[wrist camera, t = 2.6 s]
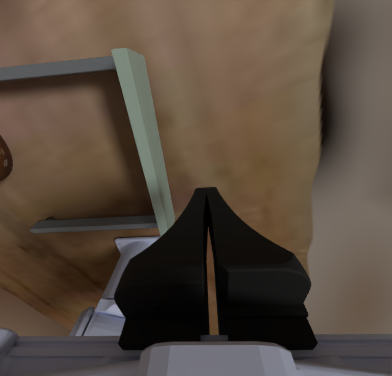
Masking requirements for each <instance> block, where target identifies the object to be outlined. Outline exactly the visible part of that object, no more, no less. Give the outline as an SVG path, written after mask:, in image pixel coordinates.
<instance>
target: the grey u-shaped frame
mask: <svg viewBox="0 0 392 376" xmlns="http://www.w3.org/2000/svg"><path fill="white" fill-rule="evenodd" d="M111 51H112V55H113V56H107V57H98V58H88V59H79V60H69V61H60V62H50V63H41V64H31V65H22V66H13V67H3V68H0V82H7V81H17V80H27V79H37V78H47V77H57V76H66V75H76V74H86V73H96V72H106V71H116V70H117V74H118V77H119V81H120V85H121V89H122V92H123V96H124V100H125V104H126V108H127V111H128V115H129V119H130V123H131V126H132V130H133V134H134V138H135V141H136V145H137V149H138V153H139V157H140V160H141V164H142V168H143V172H144V175H145V179H146V183H147V187H148V190H149V194H150V198H151V202H152V206H153V209H154V213H155V215H148V216H128V217H108V218H88V219H68V220H54V219H53V217H49V218H47V219H46V220H45V221H38V222H37V223H36V224H35V225H34V226H33V227H31V228H30V230H31V231H32V233H52V232H74V231H96V230H118V229H140V228H159V232H160V236H162V235H163V234H164V233H165V232H166V231H167V230H168V229H169V228H170V227H171V226H172V225H173V224H174V221H175V216H174V211H173V206H172V200H171V195H170V190H169V185H168V179H167V174H166V169H165V164H164V158H163V153H162V148H161V142H160V137H159V132H158V127H157V121H156V116H155V111H154V106H153V100H152V95H151V90H150V84H149V79H148V74H147V69H146V63H145V58H144V56H143V55H141V54H139V53H137V52H135V51H132V50H130V49H128V48H119V49H111Z"/></svg>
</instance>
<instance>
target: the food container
mask: <svg viewBox="0 0 392 376" xmlns="http://www.w3.org/2000/svg"><path fill="white" fill-rule="evenodd" d="M12 167H13V160H12V156H11V153H10V150H9V148H8V146H7V144H6V143H5V141H4V140H3V138H2V137H1V135H0V180H2V179H4V178H5V177H7V176H8V175H9V174H10V172H11V171H12Z"/></svg>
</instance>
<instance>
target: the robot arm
mask: <svg viewBox="0 0 392 376" xmlns="http://www.w3.org/2000/svg"><path fill="white" fill-rule="evenodd" d="M208 227H209V234H210V240H211V246H212V252H213V259H214V271H215V286H216V300H217V314H218V329H219V335H210V332H209V309H208V286H207V262H206V260H207V237H208ZM115 243H116V245H117V247H118V249H119V252H120V254H121V256H120V258H119V260H118V263H117V265H116V267H115V269H114V271H113V274H112V276H111V278H110V280H109V282H108V285H107V287H106V289H105V291H104V293H103V296H102V298H101V299H100V300H99V303H98V305H97V307H96V309H95V311H93V310H94V307H91V306H90V307H89V308H88V309H86V310H84V311H83V312H82V313H81V314H80V316H79V318H78V320H77V321H76V323H75V325H74V327H73V329H72V331H71V333H70V335H69V336H18V334H16V333H15V332H14V331H12V330H10V329H7V328H0V376H392V334H314V333H313V331H312V329H311V326H310V324H309V322H308V320H307V318H306V317H308V312H307V310H306V308H305V305H304V300H305V298H306V297H307V294H308V293H309V290H310V287H311V281H310V278H309V276H308V275H307V273H306V271H305V269H304V268H303V266H302V265H301V263H300V262H299V260H298V259H297V258H296V256H295V255H294V254H293V253H292V252H290V251H288V250H286V249H284V248H282V247H280V246H279V245H277V244H275V243H273V242H271V241H270V240H268V239H267V238H265V237H263V236H262V235H260V234H259V233H258V232H256V231H255V230H253V229H252V228H251V227H249V226H248V225H247V224H246V223H245V222H244V221H242V220H241V219H240V218H239V217H238V216H237V215H236V214H235V213H234V212H233V210H232V209H231V208H230V207H229V206H228V205H227V203H226V202H225V201H224V199H223V198H222V196H221V195H220V193H219V192H218V190H217V188H216V187H209V188H196V189H195V192H194V194H193V196H192V198H191V200H190V202H189V203H188V205H187V207H186V208H185V210H184V211H183V213H182V214H181V215H180V217H179V218H178V219H177V220H176V222H175V223H174V224H173V225H172V226H171V227H170V228H169V229H168V230H167V231H166V232H165V233H164V234H163V235H162V236H156V237H133V238H117V239H116V240H115Z"/></svg>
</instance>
